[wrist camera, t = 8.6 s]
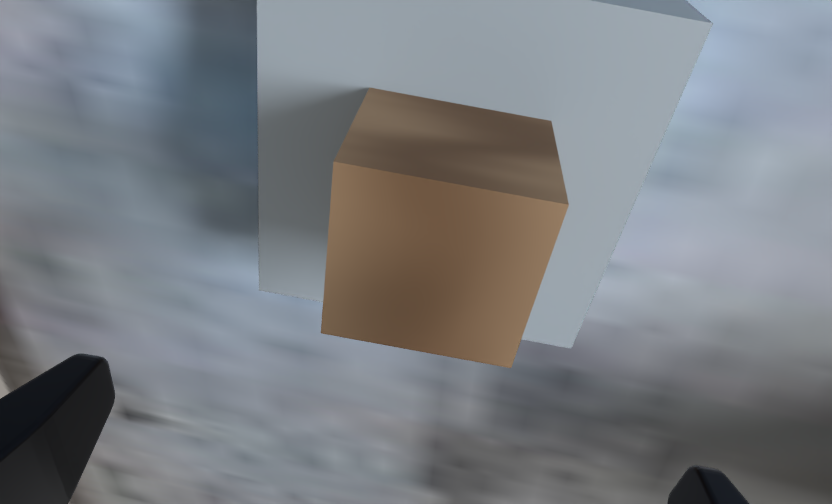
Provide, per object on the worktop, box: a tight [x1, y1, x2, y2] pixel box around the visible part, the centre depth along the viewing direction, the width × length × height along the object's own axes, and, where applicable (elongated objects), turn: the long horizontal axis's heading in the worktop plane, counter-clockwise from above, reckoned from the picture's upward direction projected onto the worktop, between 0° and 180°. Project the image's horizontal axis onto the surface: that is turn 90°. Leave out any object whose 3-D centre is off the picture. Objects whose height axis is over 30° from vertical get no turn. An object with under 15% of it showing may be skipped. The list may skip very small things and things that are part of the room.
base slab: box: [257, 0, 713, 348], centre depth 17 cm, size 10×10×3 cm
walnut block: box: [321, 87, 569, 368], centre depth 14 cm, size 4×4×4 cm
